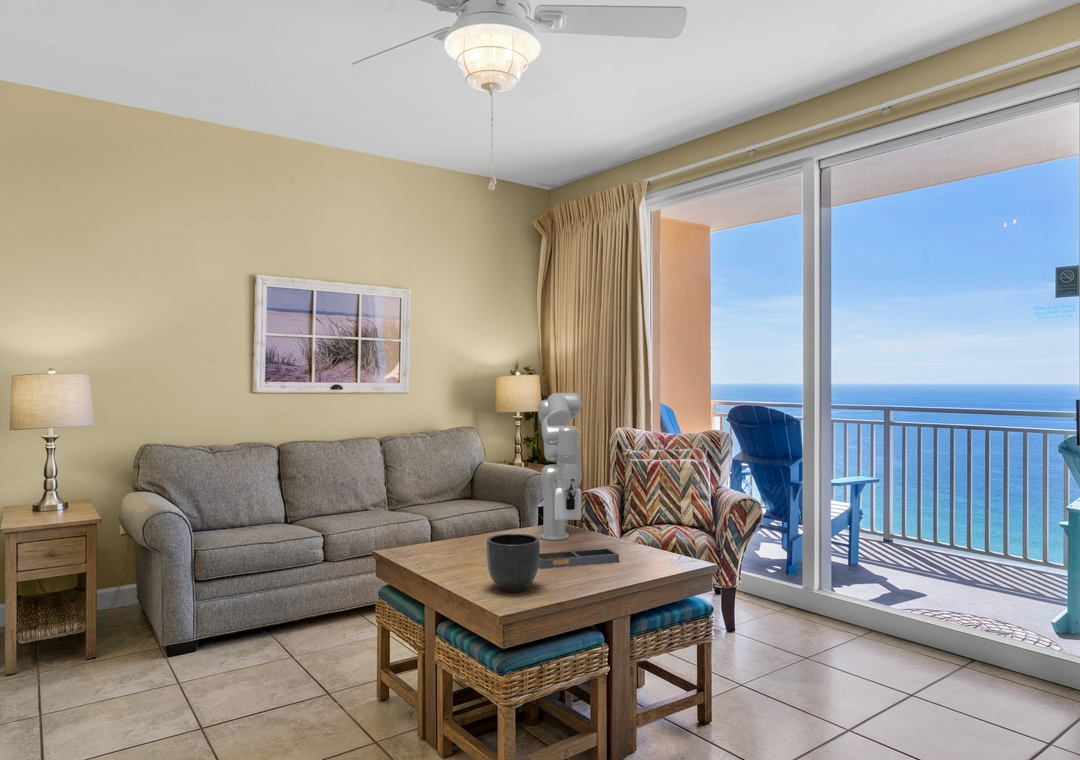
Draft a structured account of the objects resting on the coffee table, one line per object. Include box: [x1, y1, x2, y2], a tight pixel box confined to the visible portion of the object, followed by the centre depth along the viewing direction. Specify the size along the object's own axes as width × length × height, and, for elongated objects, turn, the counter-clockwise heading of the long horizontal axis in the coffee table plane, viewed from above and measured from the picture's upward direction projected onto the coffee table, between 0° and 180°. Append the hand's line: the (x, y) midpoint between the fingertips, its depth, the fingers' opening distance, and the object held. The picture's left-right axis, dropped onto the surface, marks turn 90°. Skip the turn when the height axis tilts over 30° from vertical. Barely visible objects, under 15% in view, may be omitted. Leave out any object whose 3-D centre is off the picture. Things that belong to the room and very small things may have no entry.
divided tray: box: [538, 547, 620, 570], centre depth 252 cm, size 10×31×3 cm, turn 108°
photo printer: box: [554, 487, 582, 521], centre depth 255 cm, size 10×4×12 cm, turn 100°
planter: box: [486, 533, 541, 593], centre depth 219 cm, size 17×17×16 cm
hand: (567, 507), depth 255 cm, fingers closed on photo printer, 4 cm apart
